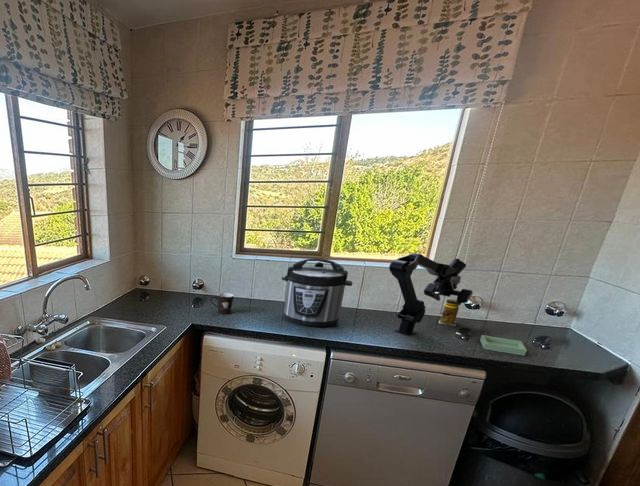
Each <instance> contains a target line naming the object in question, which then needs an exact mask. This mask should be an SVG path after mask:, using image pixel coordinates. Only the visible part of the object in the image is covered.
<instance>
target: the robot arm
mask: <svg viewBox="0 0 640 486" xmlns="http://www.w3.org/2000/svg"><path fill="white" fill-rule="evenodd" d="M418 266H420V267H422V268H423V269H426V270H427V273H428V274H429V275H432V276H436V278H435V280H433V282H430V283H428V284H427V285H426V287H425V288H424V290H423V295H424V296H427V297H429V298H431V299H434V300H436V301H437V302H440V301H441V296H443V297H451V296H456V300H457V303H458V306H461V305H462V304H466V303H468V302H469V300H470V299H471V297H472V296H473V294H474V293H473V290H471V289H466V288H462V289H461V290H457V289H458V285H459V284H460V283H461V277H462V276H460V274H461V273H462V272H463V271H464V270H465V269H466V268H467V264H466V263H465V262H464V261H462V260H460V258H456V257H455V258H454V259H453V260H452V261H451V262H450V263H449V264H446V263H441V262H437V261H434V260H432V259H430V258H428V257H426V256H424V255H423V254H422V253H415V252H410V253H409V254H408V255H404V256H401V257H398V258H395V259H394V260H393V261H391V262H390V264H389V266H388V269H389V272H390V274H391V275H392V276H393V278H395V279H396V280H397V282H398V285H399V288H400V291H401V294H402V298H403V301H404V303H403V305H402V309H401V310H400V311H399V312H398V313H397V319H400V320H401V321H400V324H399V328H398V329H395V332H397V333H400V334H404V335H407V336H411V335H414V334H416V333H417V331H414V329H415V326H416V324H417V323H418V324H419V323H421V322H422V320H423V318H424V316H425V314H426V305H425V302H424V301H423V300H421V299H418V297H417V294H416V291H415V287H414V284H413V279H412V277H411V276H412V274H413V273H414V271H415V270H416V269H417V267H418Z"/></svg>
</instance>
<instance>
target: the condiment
mask: <svg viewBox="0 0 640 486" xmlns="http://www.w3.org/2000/svg"><path fill="white" fill-rule="evenodd" d="M459 308H460V305H458V303H457V299H450V298H449V299H446V302H445V304H444V305H443V308H442V309H443V310H442V313H441V315H440V316H441V317H440V318H439V320H438V324H442V325H447V326H453V327H456V326H457V322H458V321H456V319H457V316H458V312H459Z"/></svg>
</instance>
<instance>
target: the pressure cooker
mask: <svg viewBox="0 0 640 486" xmlns="http://www.w3.org/2000/svg"><path fill="white" fill-rule="evenodd" d="M307 262H316V263H315V264H314V266H305V265H306V263H307ZM324 263H326V264H329V265H331V268H330V267H325V266H324V265H325V264H324ZM348 274H349V272H348V270H345V268H344V266H343V265H341V264H339V263H338V262H335V261H332V260H329V259H324V258H306V259H303V260H299V261H297V262H295V263H293V264H292V266H288V268H287V273H286V275H282V276H281V281H285V282H286V283H287V284H286V290H285V291H286V292H285V300H284V306H283V307H284V308H283V315H284V317H285V318H286V320H287V321H289V322H291V323H294V324H297V325H301V326H307V327H318V328H319V327H330V326H333V325H336V324H337V322H338V321H339V319H340V316H341V312H342V305H343V298H344V294H345V288H346V287H352V286H353V281H352V280H348V276H349V275H348Z"/></svg>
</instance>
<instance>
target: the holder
mask: <svg viewBox="0 0 640 486" xmlns="http://www.w3.org/2000/svg"><path fill="white" fill-rule="evenodd" d="M479 341H480V344H481V346H482V348H483V350H487V351H493V352H499V353H504V354H512V355H518V356H523V357H525V356H526V354H527V352H528V349H527V348H526V346H525V345H524V343H523V342H522V341H521V340H516V339H510V338H503V337H498V336H491V335H484V334H482V335H480V338H479Z"/></svg>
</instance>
